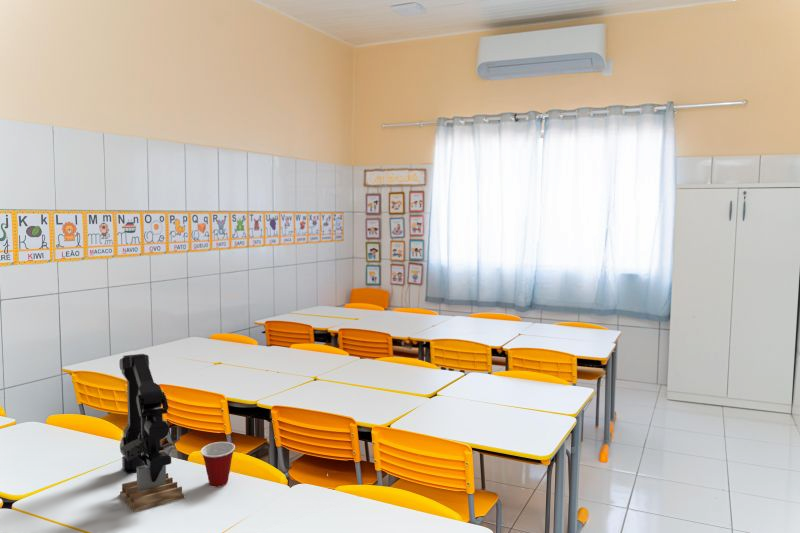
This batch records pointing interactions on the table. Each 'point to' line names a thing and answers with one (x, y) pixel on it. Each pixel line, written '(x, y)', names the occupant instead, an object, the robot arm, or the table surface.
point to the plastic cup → (218, 462)
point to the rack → (150, 494)
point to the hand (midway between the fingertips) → (151, 479)
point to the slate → (149, 478)
